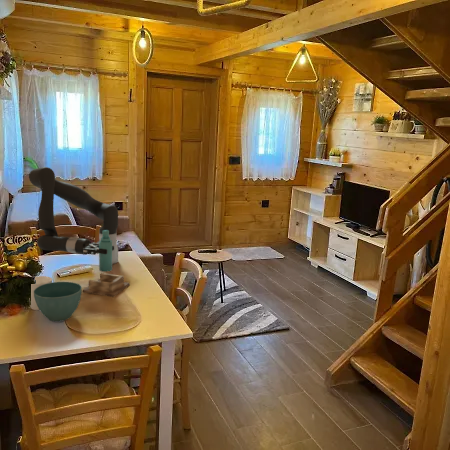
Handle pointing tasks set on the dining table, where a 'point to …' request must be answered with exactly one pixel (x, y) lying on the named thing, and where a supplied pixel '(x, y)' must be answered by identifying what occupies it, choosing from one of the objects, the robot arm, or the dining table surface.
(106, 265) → the bottle
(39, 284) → the candle holder
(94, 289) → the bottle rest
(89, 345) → the dining table surface
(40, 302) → the teal bowl
